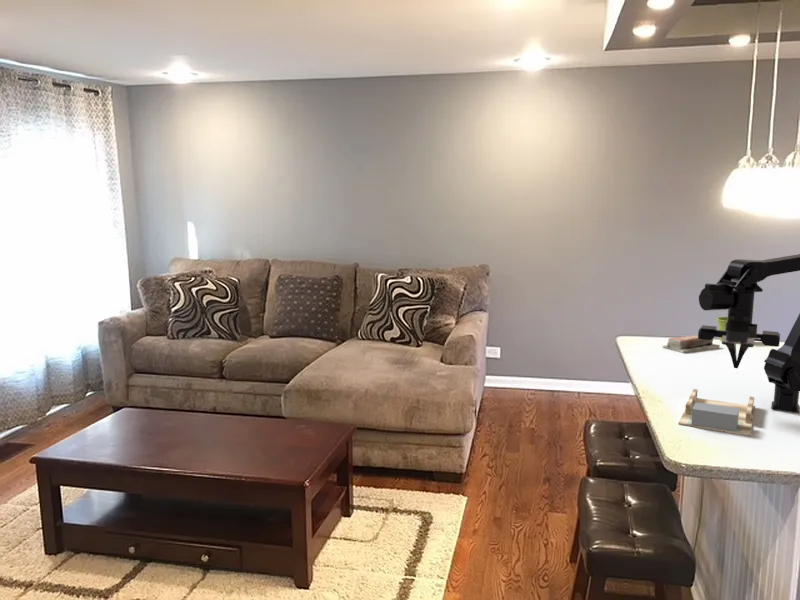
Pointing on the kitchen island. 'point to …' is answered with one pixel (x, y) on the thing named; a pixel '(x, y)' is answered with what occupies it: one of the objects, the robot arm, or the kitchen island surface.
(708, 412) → the slate block
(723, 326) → the plant pot
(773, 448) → the kitchen island surface
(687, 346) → the packaged product
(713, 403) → the beige wooden tray
